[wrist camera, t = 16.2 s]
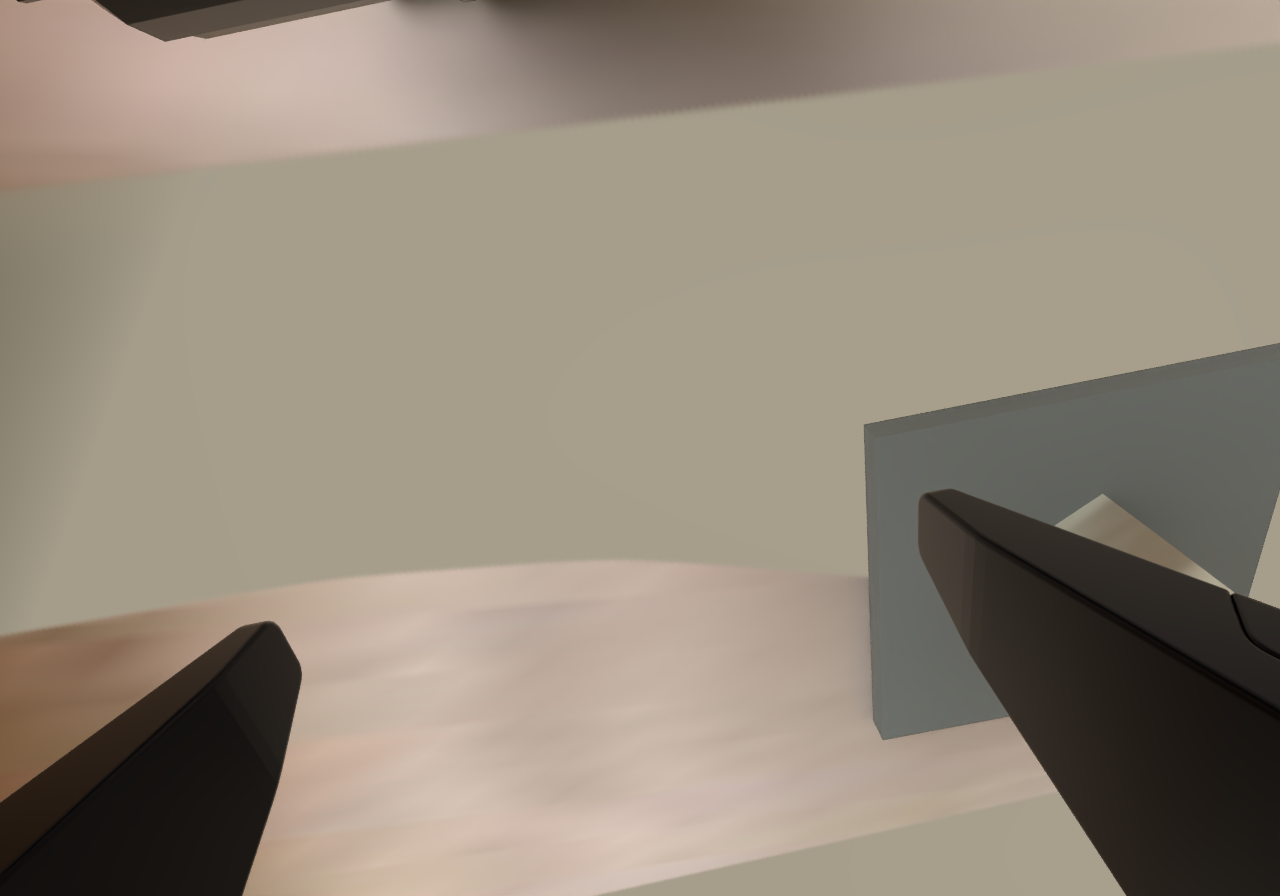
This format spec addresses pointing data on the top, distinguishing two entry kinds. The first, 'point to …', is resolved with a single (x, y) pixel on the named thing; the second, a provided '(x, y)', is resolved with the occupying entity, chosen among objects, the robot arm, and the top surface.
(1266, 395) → the rubber mat
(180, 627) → the top surface
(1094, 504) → the cream rectangular block
